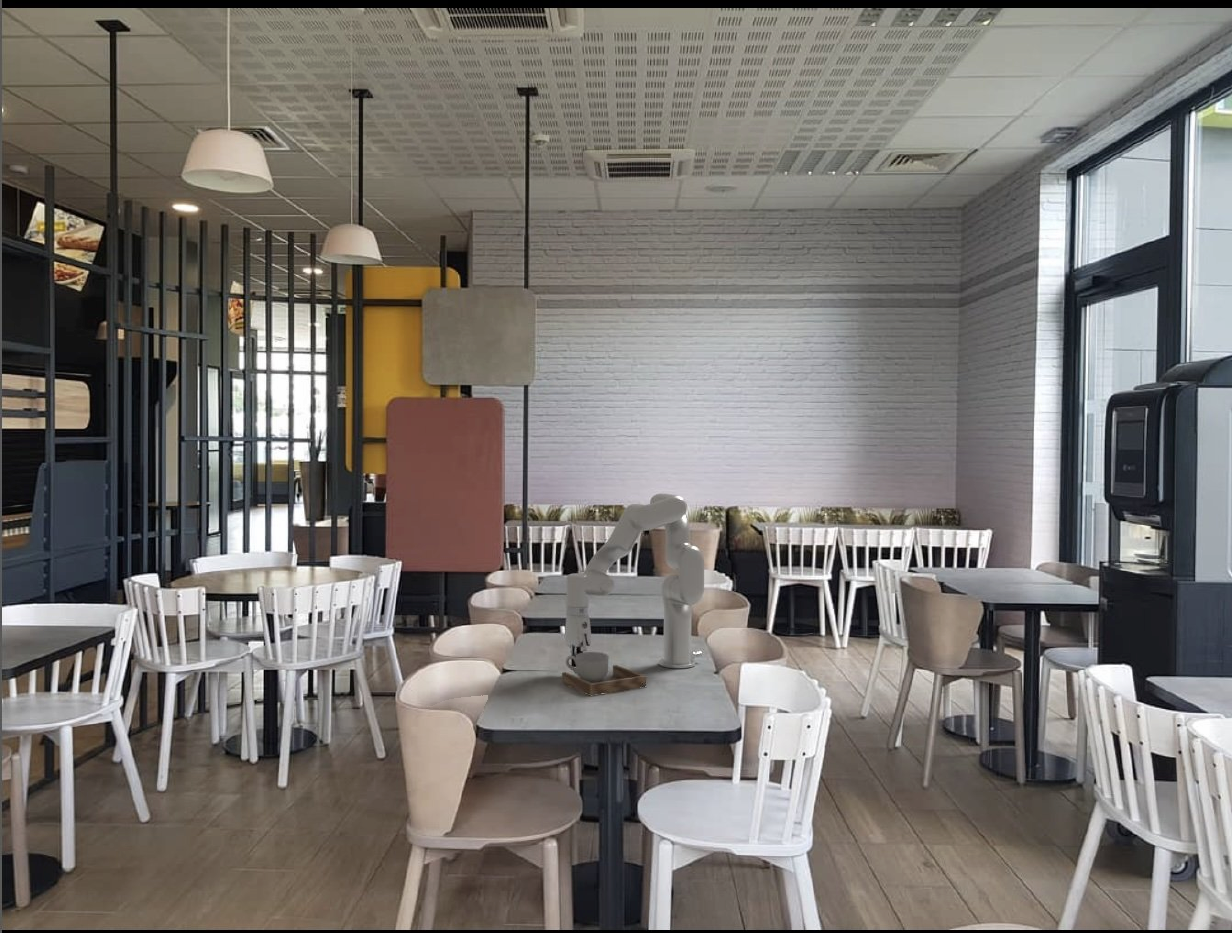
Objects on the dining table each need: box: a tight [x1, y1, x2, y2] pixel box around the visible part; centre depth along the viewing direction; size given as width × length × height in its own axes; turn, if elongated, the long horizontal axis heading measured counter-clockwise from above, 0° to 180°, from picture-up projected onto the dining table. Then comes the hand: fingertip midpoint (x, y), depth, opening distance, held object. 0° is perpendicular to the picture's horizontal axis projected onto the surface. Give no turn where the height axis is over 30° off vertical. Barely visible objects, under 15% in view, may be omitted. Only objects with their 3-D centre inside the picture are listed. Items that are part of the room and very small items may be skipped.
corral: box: [561, 664, 647, 696], centre depth 309 cm, size 20×18×4 cm
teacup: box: [565, 651, 610, 683], centre depth 317 cm, size 14×11×8 cm
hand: (576, 666), depth 323 cm, fingers closed
